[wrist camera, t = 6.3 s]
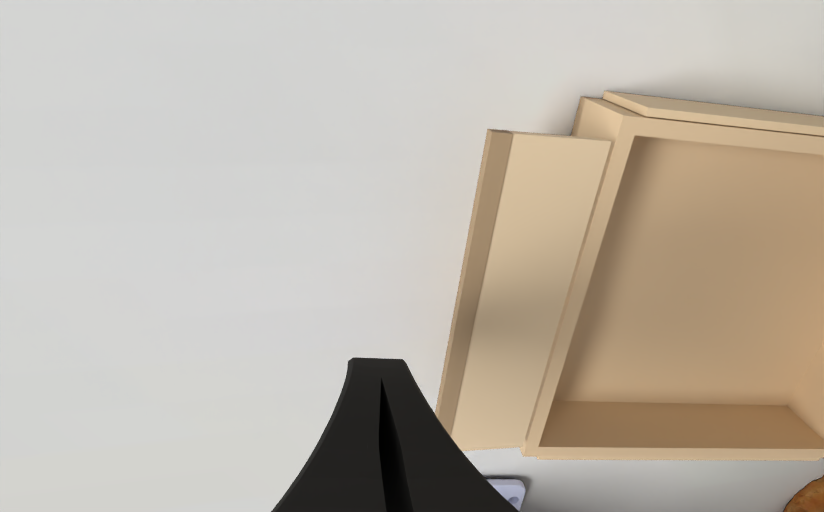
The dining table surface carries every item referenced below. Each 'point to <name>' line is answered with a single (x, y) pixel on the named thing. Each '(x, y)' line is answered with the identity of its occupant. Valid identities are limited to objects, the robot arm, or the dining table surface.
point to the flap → (515, 281)
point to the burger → (808, 498)
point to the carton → (692, 290)
